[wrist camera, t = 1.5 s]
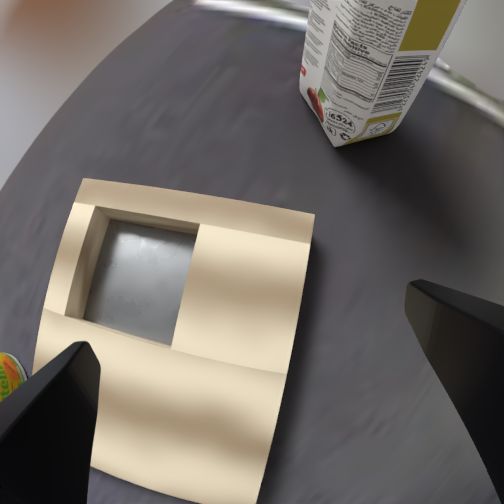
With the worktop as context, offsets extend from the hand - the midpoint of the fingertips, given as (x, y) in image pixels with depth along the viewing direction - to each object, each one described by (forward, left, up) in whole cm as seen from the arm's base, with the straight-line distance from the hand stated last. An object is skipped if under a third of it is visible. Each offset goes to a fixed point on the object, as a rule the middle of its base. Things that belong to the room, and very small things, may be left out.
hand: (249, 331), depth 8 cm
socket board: (-2, +6, -14) cm, 15 cm away
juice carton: (+20, -4, -14) cm, 25 cm away
